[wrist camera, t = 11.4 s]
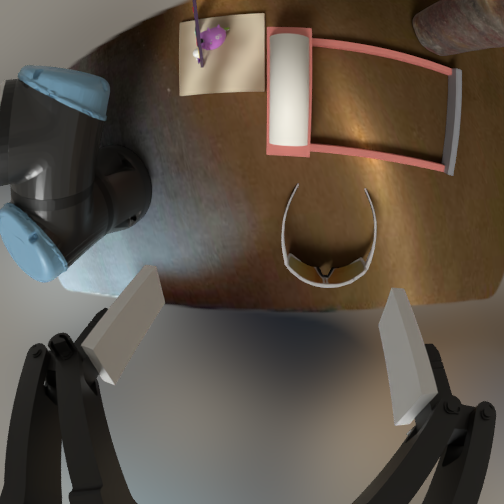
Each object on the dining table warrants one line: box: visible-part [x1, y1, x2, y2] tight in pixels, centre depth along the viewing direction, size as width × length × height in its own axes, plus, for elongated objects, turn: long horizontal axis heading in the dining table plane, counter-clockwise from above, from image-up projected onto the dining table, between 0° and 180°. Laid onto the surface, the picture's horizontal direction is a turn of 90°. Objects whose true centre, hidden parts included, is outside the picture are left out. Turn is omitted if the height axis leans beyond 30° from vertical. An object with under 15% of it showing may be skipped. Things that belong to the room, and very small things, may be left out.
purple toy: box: [193, 0, 229, 68], centre depth 26 cm, size 7×5×9 cm
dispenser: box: [267, 27, 462, 176], centre depth 26 cm, size 26×16×8 cm, turn 90°
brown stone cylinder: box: [413, 0, 504, 56], centre depth 13 cm, size 8×7×20 cm
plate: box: [179, 13, 265, 96], centre depth 30 cm, size 12×12×1 cm
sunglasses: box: [282, 183, 377, 288], centre depth 40 cm, size 14×15×5 cm
